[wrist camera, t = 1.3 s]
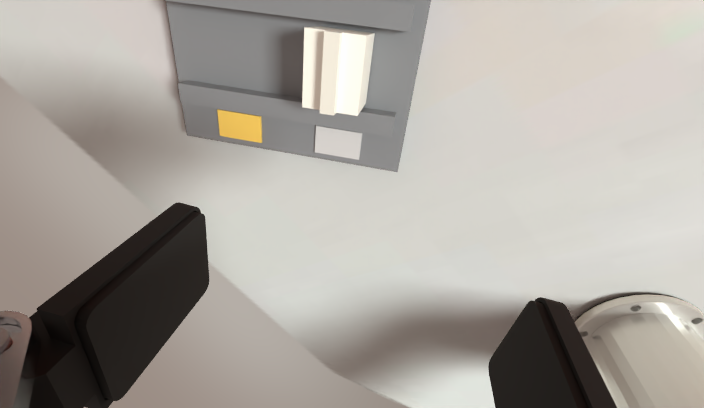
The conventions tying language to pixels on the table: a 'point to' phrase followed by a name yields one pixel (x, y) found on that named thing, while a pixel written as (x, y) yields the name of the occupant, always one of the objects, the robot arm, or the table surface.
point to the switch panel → (294, 75)
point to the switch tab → (336, 69)
